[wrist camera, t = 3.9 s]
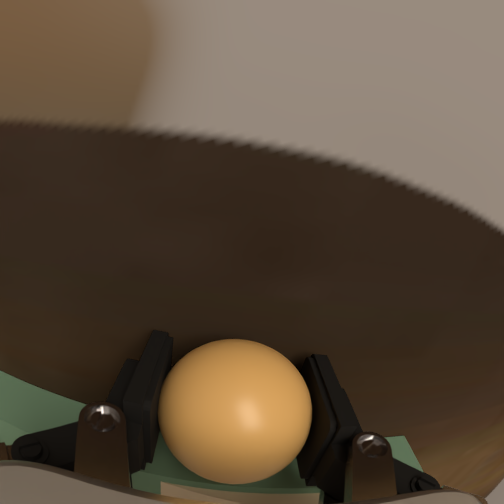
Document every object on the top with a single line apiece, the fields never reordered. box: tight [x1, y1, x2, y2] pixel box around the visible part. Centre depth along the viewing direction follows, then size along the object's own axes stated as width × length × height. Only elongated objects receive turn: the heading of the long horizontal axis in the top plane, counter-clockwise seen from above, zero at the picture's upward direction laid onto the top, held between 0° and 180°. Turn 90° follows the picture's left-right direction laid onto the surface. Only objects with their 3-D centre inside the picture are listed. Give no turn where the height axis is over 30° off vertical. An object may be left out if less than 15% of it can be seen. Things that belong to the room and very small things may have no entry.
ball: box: [158, 339, 312, 484], centre depth 9 cm, size 5×5×5 cm
